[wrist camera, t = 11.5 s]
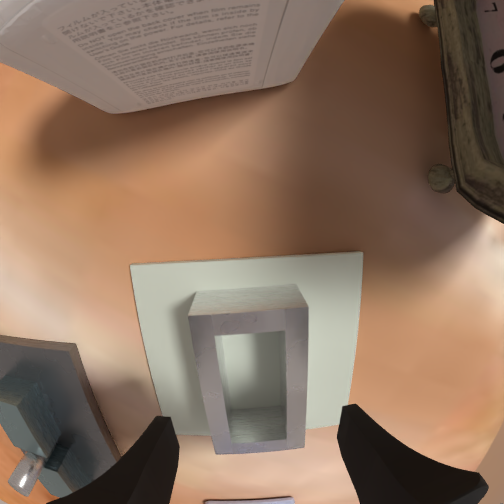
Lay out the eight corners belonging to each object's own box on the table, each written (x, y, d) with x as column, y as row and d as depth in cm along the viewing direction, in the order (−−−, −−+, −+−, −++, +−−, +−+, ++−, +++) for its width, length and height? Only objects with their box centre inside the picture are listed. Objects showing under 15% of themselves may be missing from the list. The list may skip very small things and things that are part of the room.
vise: (144, 497, 20) (130, 557, 13) (46, 473, 20) (22, 519, 13) (75, 343, 16) (14, 416, 9) (-30, 330, 16) (-84, 371, 9)
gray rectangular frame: (296, 414, 17) (304, 447, 14) (218, 420, 17) (215, 454, 14) (296, 283, 15) (308, 306, 12) (197, 291, 15) (187, 315, 12)
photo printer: (290, 21, 13) (360, -157, 1) (305, 90, 14) (444, -75, 2) (103, 57, 13) (-44, -55, 1) (107, 126, 14) (-94, 64, 2)
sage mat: (342, 419, 18) (344, 423, 18) (169, 430, 18) (168, 434, 18) (360, 251, 16) (363, 252, 15) (132, 263, 15) (129, 265, 15)
